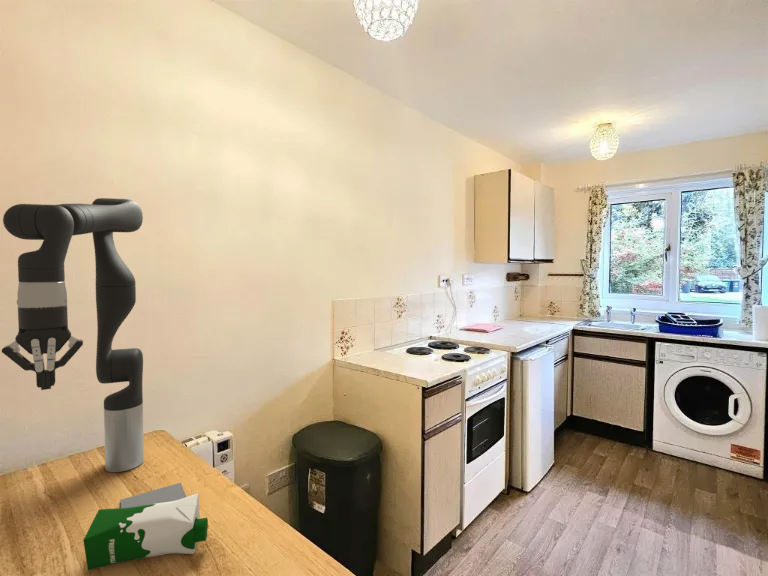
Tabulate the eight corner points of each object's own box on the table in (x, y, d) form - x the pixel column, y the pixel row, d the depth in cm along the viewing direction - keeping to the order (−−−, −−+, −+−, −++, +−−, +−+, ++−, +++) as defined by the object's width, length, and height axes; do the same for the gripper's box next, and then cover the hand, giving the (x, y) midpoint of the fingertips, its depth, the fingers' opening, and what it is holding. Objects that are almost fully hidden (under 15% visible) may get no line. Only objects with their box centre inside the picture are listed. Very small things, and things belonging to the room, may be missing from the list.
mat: (120, 502, 93) (120, 499, 93) (180, 484, 101) (180, 482, 101) (125, 550, 77) (125, 547, 77) (196, 525, 85) (196, 522, 85)
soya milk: (80, 540, 69) (203, 520, 75) (100, 501, 77) (209, 486, 83) (85, 579, 71) (205, 557, 77) (104, 537, 79) (211, 520, 85)
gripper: (84, 301, 86) (87, 379, 87) (1, 304, 78) (4, 389, 79) (84, 304, 80) (86, 387, 81) (-7, 307, 72) (-3, 400, 73)
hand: (46, 388), depth 80 cm, fingers closed
